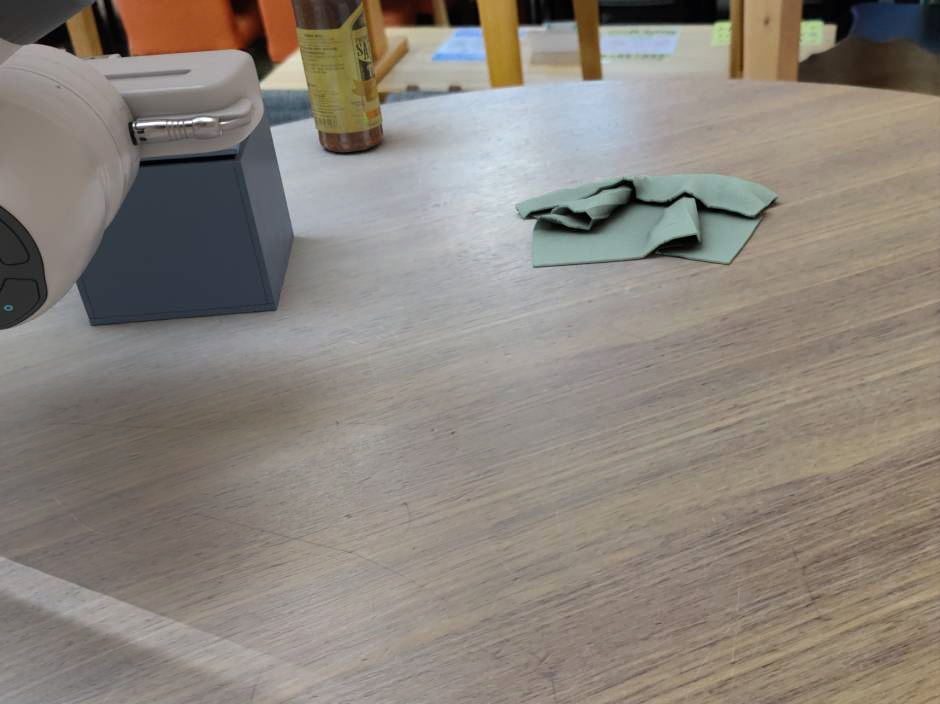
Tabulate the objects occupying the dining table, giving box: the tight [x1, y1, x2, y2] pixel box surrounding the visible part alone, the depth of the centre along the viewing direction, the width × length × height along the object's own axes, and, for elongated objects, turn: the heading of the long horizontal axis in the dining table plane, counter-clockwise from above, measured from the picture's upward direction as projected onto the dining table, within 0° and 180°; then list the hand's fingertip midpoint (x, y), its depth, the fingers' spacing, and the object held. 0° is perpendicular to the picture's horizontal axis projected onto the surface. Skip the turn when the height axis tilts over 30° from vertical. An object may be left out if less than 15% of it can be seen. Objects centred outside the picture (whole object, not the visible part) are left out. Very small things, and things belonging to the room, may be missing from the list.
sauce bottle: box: [290, 0, 384, 153], centre depth 108 cm, size 7×6×20 cm
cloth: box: [514, 173, 780, 268], centre depth 96 cm, size 20×22×2 cm
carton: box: [75, 91, 295, 326], centre depth 87 cm, size 14×13×11 cm
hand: (100, 69), depth 73 cm, fingers closed
